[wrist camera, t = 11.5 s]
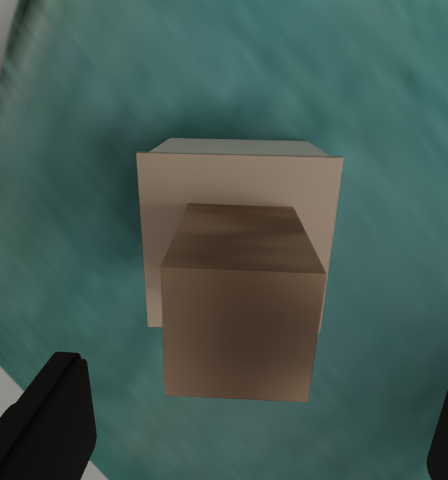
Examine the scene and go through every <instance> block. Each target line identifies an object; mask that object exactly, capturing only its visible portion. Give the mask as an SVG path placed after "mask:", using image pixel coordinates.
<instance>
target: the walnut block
mask: <svg viewBox="0 0 448 480" xmlns="http://www.w3.org/2000/svg"><path fill="white" fill-rule="evenodd" d="M160 275H161V301H162V327H163V354H164V380H165V395H167V396H187V397H208V398H229V399H250V400H271V401H291V402H308V398H309V391H310V384H311V377H312V371H313V364H314V357H315V350H316V344H317V337H318V330H319V323H320V317H321V310H322V303H323V296H324V289H325V283H326V276H327V273H326V271H325V269H324V267H323V265H322V263H321V261H320V259H319V257H318V255H317V253H316V251H315V249H314V247H313V245H312V243H311V241H310V239H309V237H308V235H307V233H306V231H305V229H304V227H303V225H302V223H301V221H300V219H299V217H298V215H297V213H296V211H295V209H294V207H276V206H249V205H223V204H196V203H188V206H187V208H186V210H185V212H184V215H183V217H182V219H181V221H180V224H179V226H178V228H177V230H176V233H175V235H174V237H173V239H172V242H171V244H170V246H169V248H168V251H167V253H166V255H165V257H164V260H163V262H162V264H161V267H160Z"/></svg>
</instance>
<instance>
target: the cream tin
mask: <svg viewBox="0 0 448 480" xmlns="http://www.w3.org/2000/svg"><path fill="white" fill-rule="evenodd" d="M136 158H137V172H138V187H139V201H140V216H141V230H142V245H143V259H144V274H145V289H146V303H147V318H148V327H162V301H161V275H160V267H161V264H162V262H163V260H164V257H165V255H166V253H167V251H168V248H169V246H170V244H171V242H172V239H173V237H174V235H175V233H176V230H177V228H178V226H179V224H180V221H181V219H182V217H183V215H184V212H185V210H186V208H187V206H188V203H196V204H223V205H249V206H276V207H294V209H295V211H296V213H297V215H298V217H299V219H300V221H301V223H302V225H303V227H304V229H305V231H306V233H307V235H308V237H309V239H310V241H311V243H312V245H313V247H314V249H315V251H316V253H317V255H318V257H319V259H320V261H321V263H322V265H323V267H324V269H325V271H326V273H327V276H326V283H325V289H324V296H323V303H322V310H321V317H320V323H319V330H318V333H320V328H321V321H322V313H323V306H324V299H325V292H326V284H327V277H328V270H329V262H330V255H331V248H332V241H333V233H334V226H335V219H336V211H337V204H338V197H339V190H340V182H341V175H342V168H343V161H344V158H343V157H339V156H329V155H327V154H326V153H324V152H323V151H322V150H320V149H319V148H317V147H316V146H314V145H313V144H311V143H310V142H308V141H281V140H237V139H193V138H169V139H168V140H166V141H165V142H163V143H162V144H160V145H159V146H157V147H156V148H154V149H153V150H151V151H150V152H137V153H136Z"/></svg>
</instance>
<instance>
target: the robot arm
mask: <svg viewBox="0 0 448 480" xmlns="http://www.w3.org/2000/svg"><path fill="white" fill-rule="evenodd" d="M96 437H97V434H96V426H95V418H94V411H93V403H92V396H91V388H90V381H89V373H88V366H87V361H86V359H81V356H80V354H79V353H71V352H55V353H54V354H53V355H52V356H51V358H50V359H49V360H48V362H47V363H46V364H45V366H44V367H43V368H42V369H41V371H40V372H39V373H38V375H37V376H36V377H35V379H34V380H33V381H32V382H31V384H30V385H29V386H28V388H27V389H26V390H25V392H24V393H23V394H22V395H21V397H20V398H19V399H18V401H17V402H16V403H14V404H13V405H11V406H10V407H9V408H8V409H7V410H6V411H5V412H4V413H3V415H2V416H1V417H0V480H80V479H81V477H82V475H83V473H84V470H85V468H86V466H87V464H88V461H89V459H90V457H91V455H92V452H93V450H94V447H95V444H96ZM427 469H428V473H429V475H430V478H431V480H448V391H447V394H446V398H445V401H444V404H443V408H442V411H441V414H440V417H439V421H438V424H437V427H436V431H435V434H434V437H433V440H432V444H431V447H430V450H429V453H428V457H427Z"/></svg>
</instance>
